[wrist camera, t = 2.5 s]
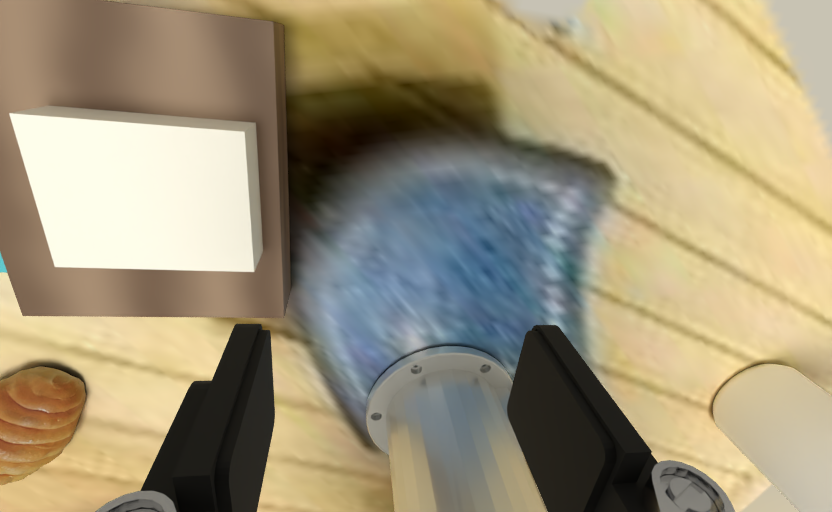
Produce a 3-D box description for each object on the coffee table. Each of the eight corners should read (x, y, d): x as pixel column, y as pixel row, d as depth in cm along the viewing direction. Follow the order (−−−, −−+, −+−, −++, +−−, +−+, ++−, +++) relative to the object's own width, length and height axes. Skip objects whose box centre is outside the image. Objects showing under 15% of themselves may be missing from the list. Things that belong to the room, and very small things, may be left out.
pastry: (18, 339, 28) (-27, 379, 25) (118, 386, 31) (90, 428, 27) (-46, 422, 30) (-96, 469, 27) (52, 458, 33) (19, 506, 30)
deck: (284, 25, 22) (273, 21, 19) (291, 288, 29) (284, 317, 26) (-28, -14, 20) (-98, -25, 17) (61, 284, 27) (23, 315, 23)
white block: (255, 122, 21) (244, 131, 18) (263, 251, 24) (254, 272, 22) (48, 105, 19) (9, 113, 17) (84, 245, 22) (54, 267, 20)
